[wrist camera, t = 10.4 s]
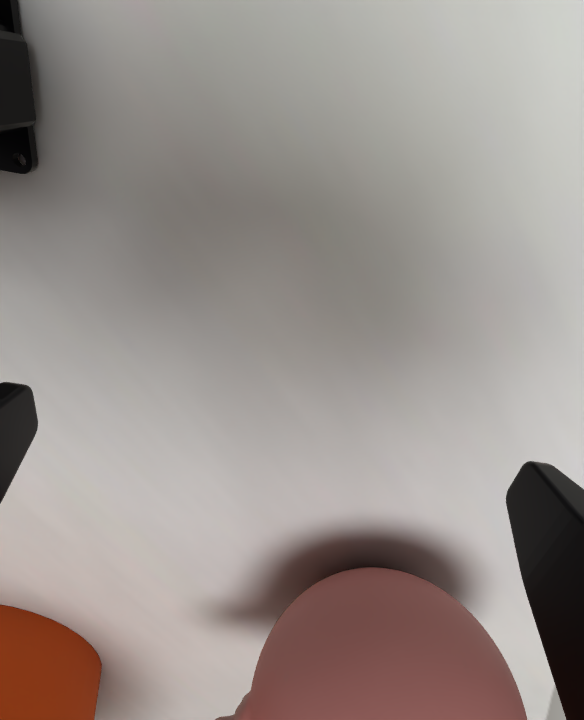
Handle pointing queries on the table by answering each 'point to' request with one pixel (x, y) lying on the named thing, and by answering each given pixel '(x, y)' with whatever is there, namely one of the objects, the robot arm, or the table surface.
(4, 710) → the flowerpot
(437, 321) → the table surface
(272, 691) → the balloon
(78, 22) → the table surface
